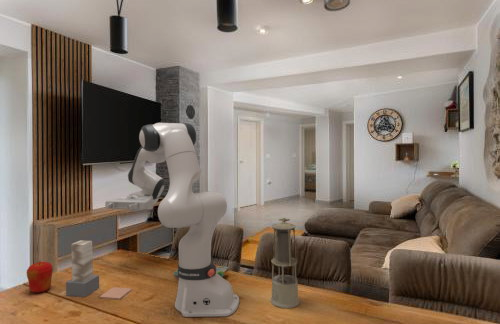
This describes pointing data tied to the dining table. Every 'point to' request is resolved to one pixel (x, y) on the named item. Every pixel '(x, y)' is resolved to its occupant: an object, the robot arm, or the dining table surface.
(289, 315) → the dining table surface
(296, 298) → the lamp
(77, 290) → the charcoal plinth
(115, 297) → the terracotta tile
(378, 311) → the dining table surface
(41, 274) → the apple
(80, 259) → the cream block
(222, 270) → the puzzle game
